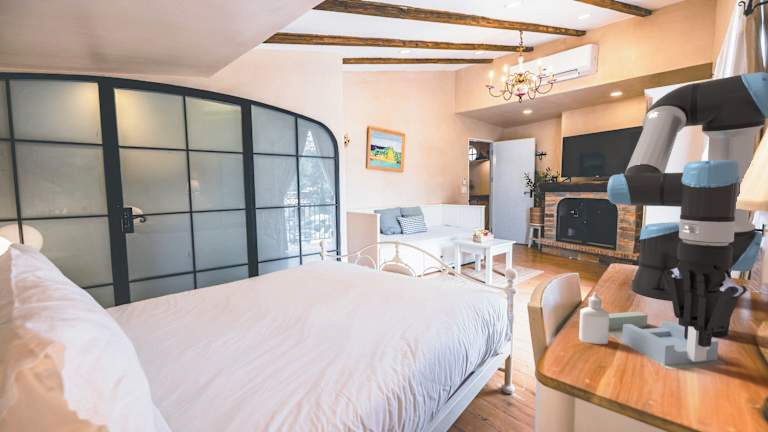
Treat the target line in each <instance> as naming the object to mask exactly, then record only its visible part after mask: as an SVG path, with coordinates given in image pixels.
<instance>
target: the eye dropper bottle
mask: <svg viewBox="0 0 768 432" xmlns="http://www.w3.org/2000/svg"><path fill="white" fill-rule="evenodd" d="M609 314H610V313H609V312H608V311H607V310H606V309H604V308H602V299H601V298H600V297H599V296H598V292H597V291H595V292H593V293H592V296H589V297H588V306H586V307H582V308H581V309H580V311H579V326H578V328H579V329H578V338H579V340H580V342H582V343H586V344H593V345H607V344H609V336H610V335H609V334H610V332H609V331H610V329H609Z"/></svg>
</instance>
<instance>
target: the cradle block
mask: <svg viewBox="0 0 768 432" xmlns="http://www.w3.org/2000/svg"><path fill="white" fill-rule="evenodd" d="M650 328H651V327H650ZM622 329H623V334H622V335H621V336H622V337H621V338H622V339H621V340H622V341H623V342H624V343H626V344H627V345H628V346H629V347H630V348H631V347H632V348H635V349H637V350H638V352H639V351H640V352H642V353H644V355H645V354H646V355H647V356H649V358H650V359H651V358H653V359H654V361H655V360H656V361H658V362H657V363H659V362H660V363H662V364H663V365H667V366H668V365H670V364H671V365H672V364H673V365H674V364H675V365H676V364H678V365H679V364H681V363H682V364H684V363H687V364H688V363H689V364H692V363H693V362H696V363H697V362H699V363H700V362H701V361H692V360H690V359H688V358H686V353H687V340H686V339H685V337H684V334H685V333H684V332H685V327H683V326H681V325H679V323H676V322H674V321H671V320H663V321H662V322H661V327H654V328H653V327H652V328H651V329H647V328H645V329H644V328H641V329H640V328H639V327H636V326H634V325H632V324H623V328H622ZM623 342H622V343H623ZM624 343H623V344H624ZM718 348H719V340H716V338H715V339H714V338H712V339H711V346H710V347H707V353H706V360H703V361H706V362H707V361H708V362H710V361H712V360H714V361H717V359H718V350H719V349H718ZM637 350H636V351H637ZM642 353H641V354H642ZM653 359H652V360H653ZM671 365H670V366H671Z"/></svg>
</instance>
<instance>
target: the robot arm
mask: <svg viewBox="0 0 768 432" xmlns="http://www.w3.org/2000/svg"><path fill="white" fill-rule="evenodd" d="M766 119H768V72H763V71H761V72H760V71H758V72H751V73H742V74H741V73H740V74H738V75H732V76H728V77H722V78H721V77H720V78H717V79H712V80H711V79H710V80H706V81H700V82H696V83H695V82H693V83H689V84H685V85H682V86H679V87H676V88H675V89H673V90H671V91H669V92H667V93H665V95H663V96H661V97H660V98H659V99H657V100H656V101H655V102H654V103H653V104H652V105H651V106H650V107H649V108H648V110H647V111H646V112H645V115H644V116H643V119H642V121H641V122H642V123H641V124H642V131H641V134H640V136H639V138H638V141H637V144H636V146H635V149H634V150H633V153H632V155H631V157H630V160H629V162H628V164H627V167H626V170H625V172H624V173H619V174H612V175H611V176H610V178H609V180H608V182H607V198H608V200H609V202H610V203H611V204H613V205H622V206H628V207H630V206H631V207H632V206H633V207H634V206H637V207H638V206H640V207H641V206H642V207H643V206H645V207H680V216H679V222H677V221H676V222H674V221H673V222H658V223H650V224H649V223H648V224H645V225H644V226H642V227H641V229H640V237H639V252H638V253H639V255H638V256H639V257H638V267H637V270H636V271H635V275H634V276H633V277H634V278H633V279H632V280H631V281H630V283H631V284H630V289H631V291H632V292H634V293H637V294H638V295H642V296H644V297H649V298H653V299H660V300H666V301H668V300H669V301H672V307H673V308H672V309H673V314H674V317H675V318H676V319H679V318H680V319H681V320H683V322H684V324H685V332H684V333H685V334H684V337H685V339H686V340H687V353H686V358H688V359H690V360H692V361H703V360H706V353H707V347H710V346H711V339H713V337H712V332H715V331H724V330H726V327H727V325H728V323H729V320H730V321H731V318H732V315H733V313H734V310H735V308H736V306H737V304H738V301H739V299H740V298H741V297H742V296H743V295H745V294H746V293H747V290H748V289H747V287H746V286H745V285H739V284H737V283H736V282H735V281H734V280H733V279H732V274H731V271H732V272H733V271H734V272H743V273H745V272H750V271H752V270H753V268H754V266H755V264H756V262H757V259H758V256H759V252H760V249H761V244H762V241H763V232H759V231H758V230H756V225H755V224H754V223H753V222H751V221H750V220H749V210H741V209H736V202H737V197H738V196H739V194H740V184H741V182H742V179H743V178H744V175H745V173H746V171H747V169H748V168H749V166H750V164H751V161H752V160H754V150H755V139H756V133H757V132H759V130H761V129H762V128H763V127H765V125H766ZM691 126H692V127H694V126H695V127H696V126H701V133H703V134H704V135H706V136H707V137H708V150H707V160H696V161H695V160H694V161H689V162H687V163H685V164H684V166H683V171H682V172H666V169H667V167H668V164H669V161H670V157H671V154H672V152H673V148H674V145H675V142H676V139H677V136H678V133H679V132H681V131H682V130H683V129H684V128H686V127H691ZM720 291H723V292H722V293H721V295H720V297H719V299H718V301H717V296H719V294H720Z"/></svg>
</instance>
